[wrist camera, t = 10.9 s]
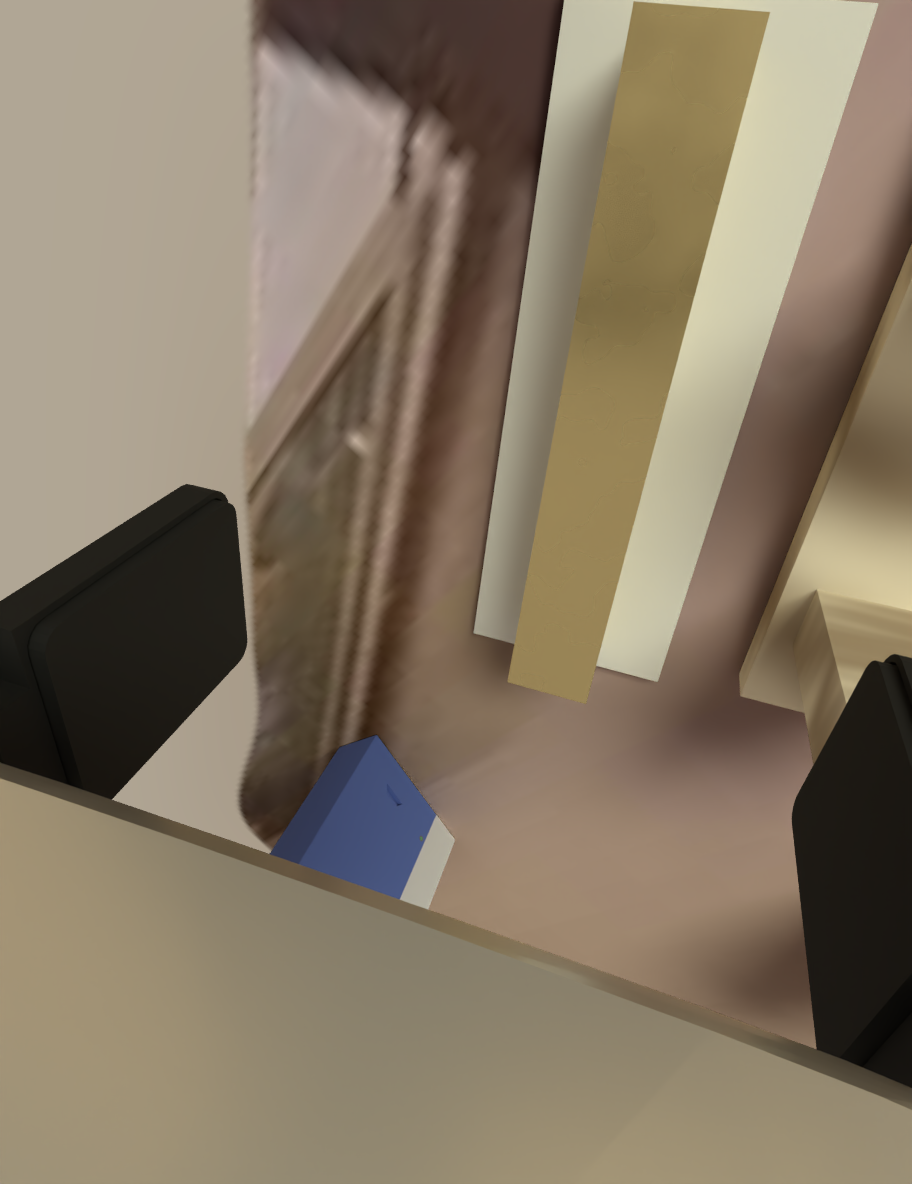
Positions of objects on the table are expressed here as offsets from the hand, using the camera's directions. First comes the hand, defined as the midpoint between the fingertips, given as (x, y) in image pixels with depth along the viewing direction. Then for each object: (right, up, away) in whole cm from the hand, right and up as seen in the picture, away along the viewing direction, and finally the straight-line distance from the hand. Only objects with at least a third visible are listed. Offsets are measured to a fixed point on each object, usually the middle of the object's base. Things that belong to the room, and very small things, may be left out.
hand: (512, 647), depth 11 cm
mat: (+5, +8, +14) cm, 17 cm away
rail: (+5, +7, +14) cm, 16 cm away
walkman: (-4, -10, +28) cm, 30 cm away
